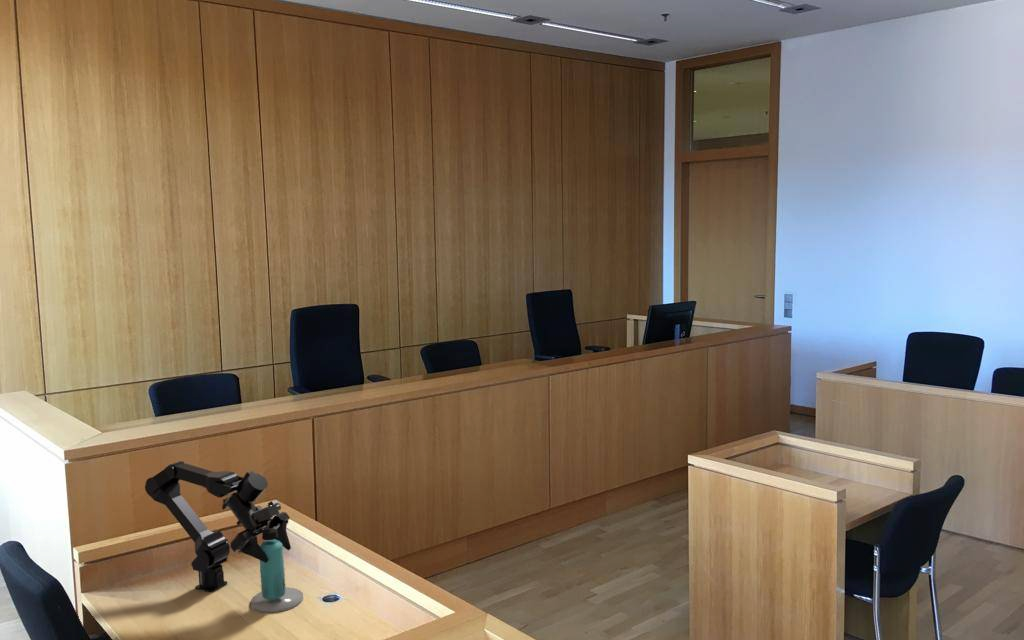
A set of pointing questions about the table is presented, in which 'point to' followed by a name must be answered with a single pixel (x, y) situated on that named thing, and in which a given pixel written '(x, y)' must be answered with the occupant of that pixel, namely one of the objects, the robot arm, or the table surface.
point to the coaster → (277, 601)
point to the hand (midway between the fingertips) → (278, 555)
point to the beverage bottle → (272, 566)
